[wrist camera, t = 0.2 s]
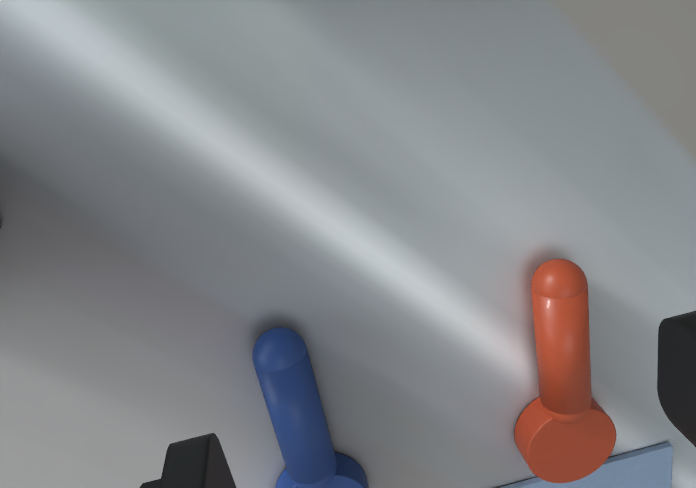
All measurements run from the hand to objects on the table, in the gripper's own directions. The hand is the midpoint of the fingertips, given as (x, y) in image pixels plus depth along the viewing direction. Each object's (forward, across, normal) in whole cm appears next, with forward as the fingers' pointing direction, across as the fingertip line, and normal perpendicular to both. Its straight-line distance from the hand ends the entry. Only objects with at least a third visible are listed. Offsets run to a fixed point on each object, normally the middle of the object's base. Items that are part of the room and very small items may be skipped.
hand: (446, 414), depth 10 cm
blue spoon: (+17, +4, +13) cm, 22 cm away
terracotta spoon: (+17, -10, +13) cm, 24 cm away
